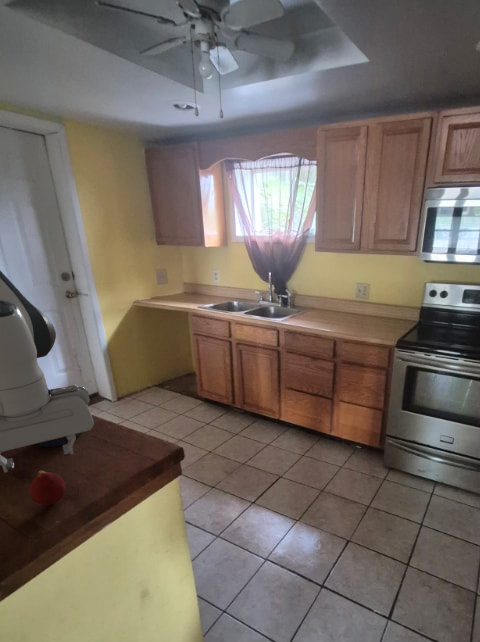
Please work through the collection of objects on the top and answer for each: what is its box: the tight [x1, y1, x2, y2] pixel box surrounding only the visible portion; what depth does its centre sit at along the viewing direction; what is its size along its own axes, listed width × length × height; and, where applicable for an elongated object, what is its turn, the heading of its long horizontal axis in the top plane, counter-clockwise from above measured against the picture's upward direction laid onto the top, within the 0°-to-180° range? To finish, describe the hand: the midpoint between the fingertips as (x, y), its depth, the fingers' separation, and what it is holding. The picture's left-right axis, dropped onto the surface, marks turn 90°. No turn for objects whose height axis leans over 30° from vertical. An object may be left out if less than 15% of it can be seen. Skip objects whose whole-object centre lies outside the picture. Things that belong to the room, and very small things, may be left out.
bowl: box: [36, 432, 82, 448], centre depth 95 cm, size 10×10×5 cm
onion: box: [28, 470, 67, 506], centre depth 72 cm, size 6×6×8 cm
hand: (40, 461), depth 70 cm, fingers open, 8 cm apart
